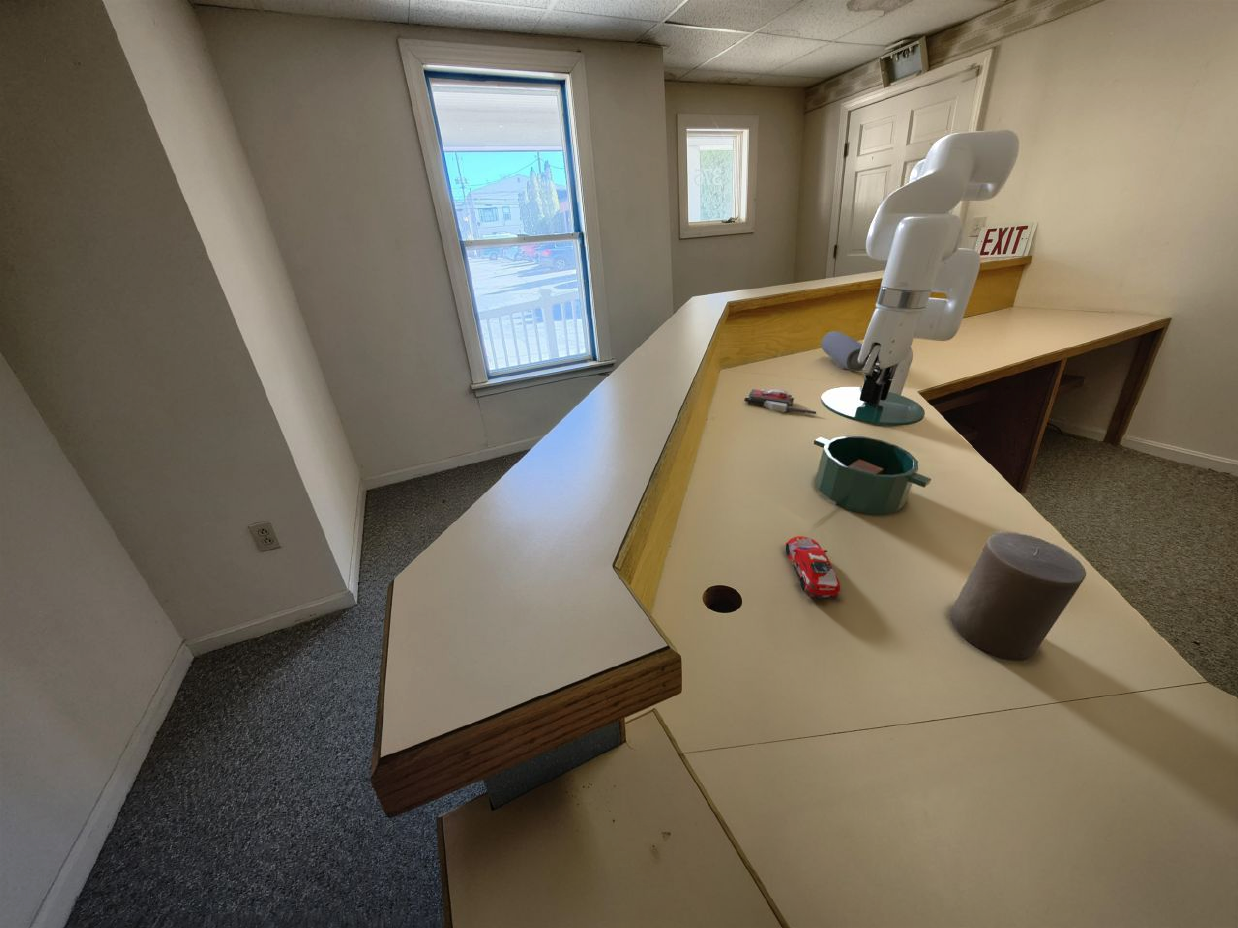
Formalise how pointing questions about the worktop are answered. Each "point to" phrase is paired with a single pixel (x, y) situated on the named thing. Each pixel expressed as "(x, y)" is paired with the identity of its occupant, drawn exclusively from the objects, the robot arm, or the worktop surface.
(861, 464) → the block
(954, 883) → the worktop surface
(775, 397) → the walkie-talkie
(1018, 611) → the pillar candle
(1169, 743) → the worktop surface
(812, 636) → the worktop surface
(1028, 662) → the worktop surface
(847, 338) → the bluetooth speaker
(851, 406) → the lid
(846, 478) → the pot
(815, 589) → the race car
